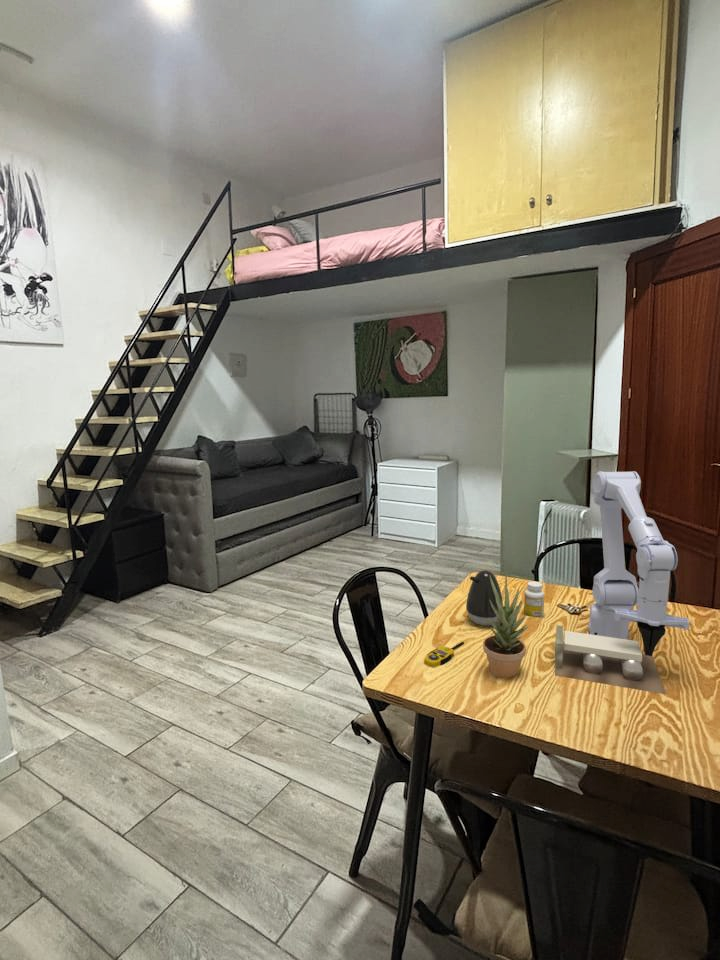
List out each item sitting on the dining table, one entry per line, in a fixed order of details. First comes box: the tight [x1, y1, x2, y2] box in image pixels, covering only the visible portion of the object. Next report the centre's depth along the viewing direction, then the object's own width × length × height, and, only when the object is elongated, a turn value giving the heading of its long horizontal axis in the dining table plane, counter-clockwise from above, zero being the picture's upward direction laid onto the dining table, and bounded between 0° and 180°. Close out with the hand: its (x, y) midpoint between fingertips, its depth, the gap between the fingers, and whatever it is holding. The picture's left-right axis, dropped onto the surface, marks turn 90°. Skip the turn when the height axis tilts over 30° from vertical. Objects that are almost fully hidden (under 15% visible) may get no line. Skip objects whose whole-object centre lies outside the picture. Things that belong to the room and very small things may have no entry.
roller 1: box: [583, 653, 603, 674], centre depth 121 cm, size 4×10×4 cm
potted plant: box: [482, 574, 529, 679], centre depth 117 cm, size 10×10×25 cm
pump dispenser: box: [465, 569, 504, 627], centre depth 144 cm, size 10×10×15 cm
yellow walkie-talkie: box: [423, 641, 465, 668], centre depth 128 cm, size 5×2×15 cm
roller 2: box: [620, 659, 643, 680], centre depth 118 cm, size 4×10×4 cm
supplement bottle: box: [523, 580, 545, 619], centre depth 148 cm, size 5×5×10 cm
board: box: [554, 624, 667, 695], centre depth 119 cm, size 22×17×7 cm
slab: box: [563, 630, 643, 662], centre depth 119 cm, size 16×7×2 cm, turn 69°
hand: (647, 653), depth 116 cm, fingers closed
